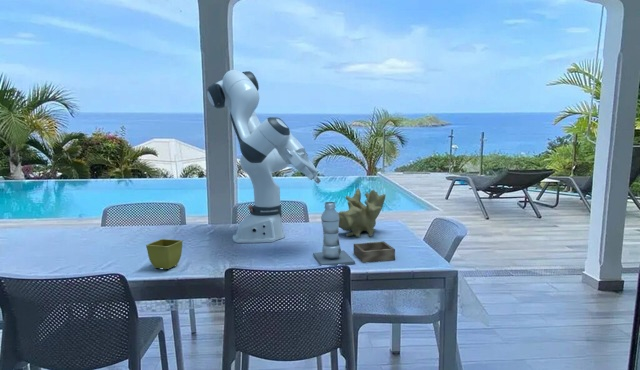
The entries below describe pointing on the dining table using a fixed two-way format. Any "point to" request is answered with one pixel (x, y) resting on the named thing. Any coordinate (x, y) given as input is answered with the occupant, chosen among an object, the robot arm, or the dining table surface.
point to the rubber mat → (334, 259)
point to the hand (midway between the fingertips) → (315, 180)
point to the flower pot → (164, 253)
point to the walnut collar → (374, 252)
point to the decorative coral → (361, 213)
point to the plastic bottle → (330, 231)
